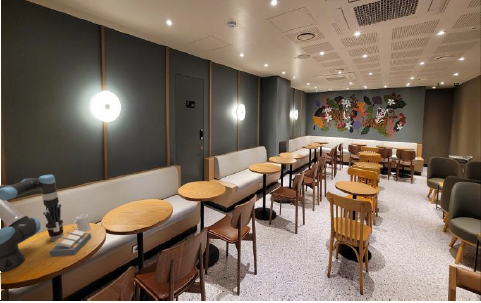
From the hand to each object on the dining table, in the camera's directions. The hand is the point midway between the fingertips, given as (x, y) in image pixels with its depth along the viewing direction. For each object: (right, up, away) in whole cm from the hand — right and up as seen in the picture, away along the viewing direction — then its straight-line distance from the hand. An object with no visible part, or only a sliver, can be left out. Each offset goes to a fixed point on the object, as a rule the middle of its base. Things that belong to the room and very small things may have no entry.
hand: (56, 231), depth 147 cm
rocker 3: (+3, -7, +14) cm, 16 cm away
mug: (-5, -11, +30) cm, 32 cm away
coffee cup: (-16, -13, +19) cm, 28 cm away
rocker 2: (+3, -9, +8) cm, 12 cm away
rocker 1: (+4, -9, +2) cm, 10 cm away
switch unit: (+3, -15, +9) cm, 18 cm away
